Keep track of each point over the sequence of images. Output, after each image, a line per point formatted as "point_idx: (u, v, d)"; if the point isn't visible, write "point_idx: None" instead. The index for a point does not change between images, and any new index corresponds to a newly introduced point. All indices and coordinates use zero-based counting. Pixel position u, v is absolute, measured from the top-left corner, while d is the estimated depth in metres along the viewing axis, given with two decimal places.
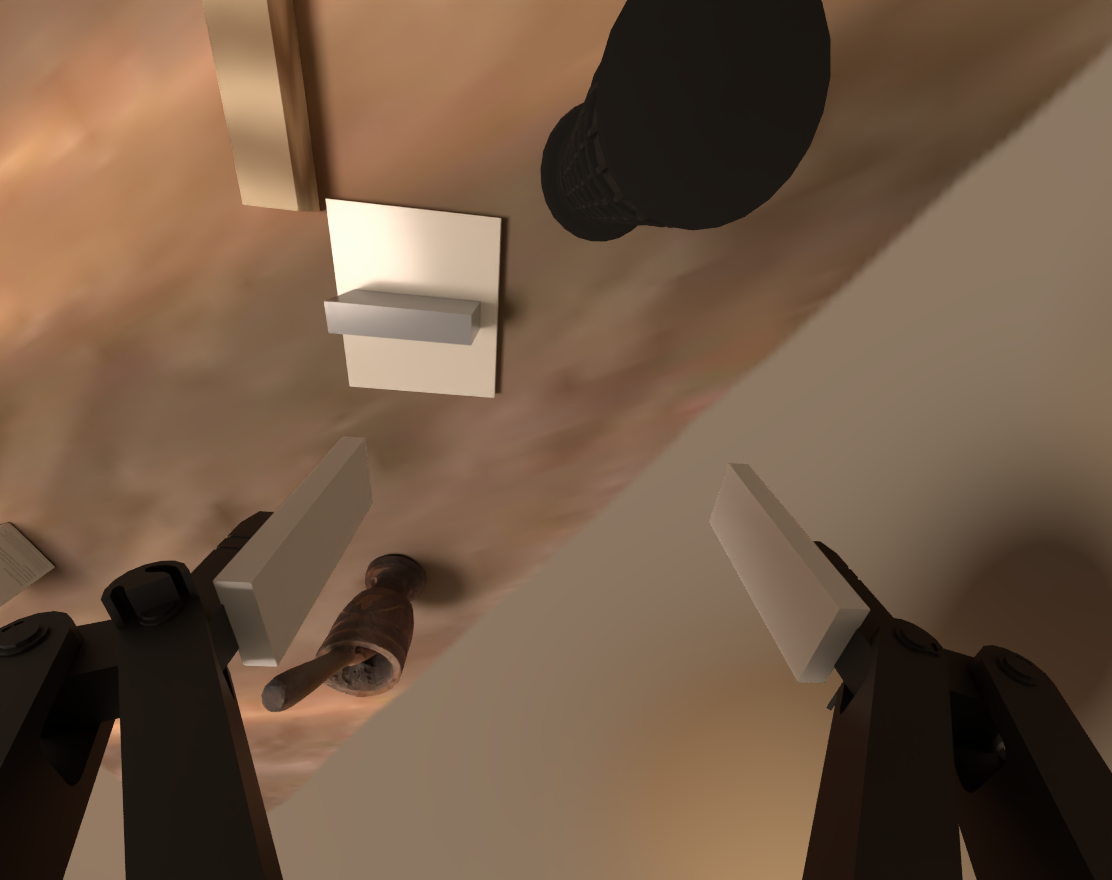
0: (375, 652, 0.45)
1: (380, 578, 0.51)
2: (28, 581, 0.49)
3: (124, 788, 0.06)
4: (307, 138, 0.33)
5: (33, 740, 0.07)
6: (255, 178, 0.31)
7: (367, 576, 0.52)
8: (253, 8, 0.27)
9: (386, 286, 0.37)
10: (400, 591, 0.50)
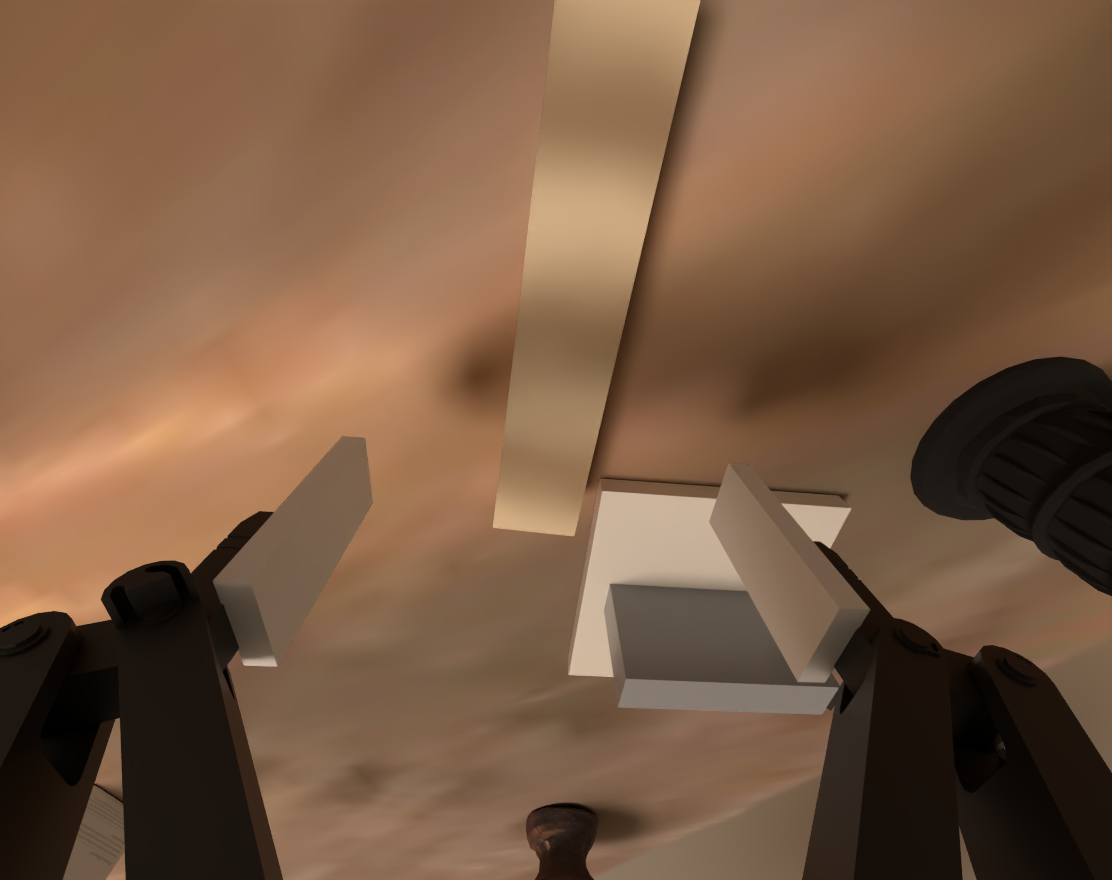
0: None
1: (554, 844, 0.40)
2: (117, 855, 0.39)
3: (124, 788, 0.06)
4: None
5: (32, 740, 0.07)
6: (524, 500, 0.20)
7: (533, 835, 0.42)
8: (606, 297, 0.16)
9: (655, 580, 0.26)
10: (583, 868, 0.40)
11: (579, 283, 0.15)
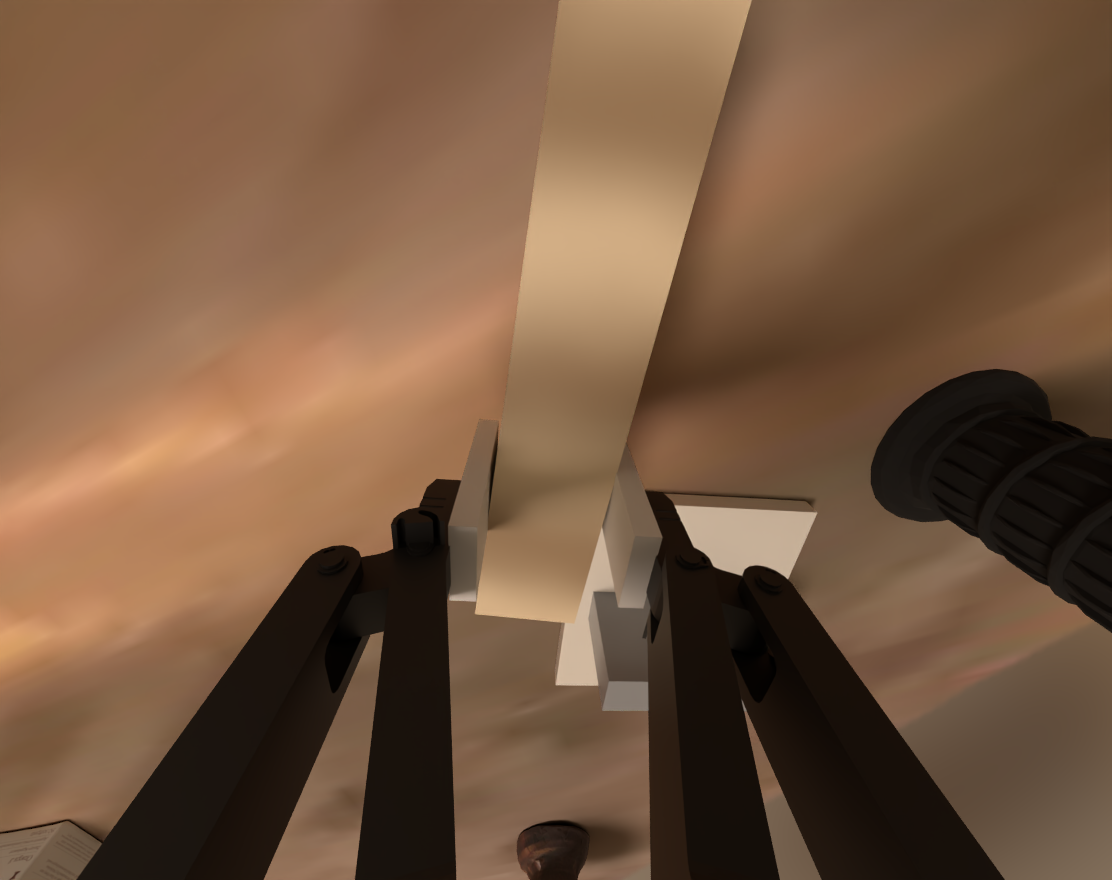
0: None
1: (546, 864, 0.40)
2: None
3: (380, 674, 0.08)
4: None
5: (322, 650, 0.08)
6: (514, 583, 0.16)
7: (524, 855, 0.41)
8: (622, 345, 0.12)
9: None
10: None
11: (588, 327, 0.12)
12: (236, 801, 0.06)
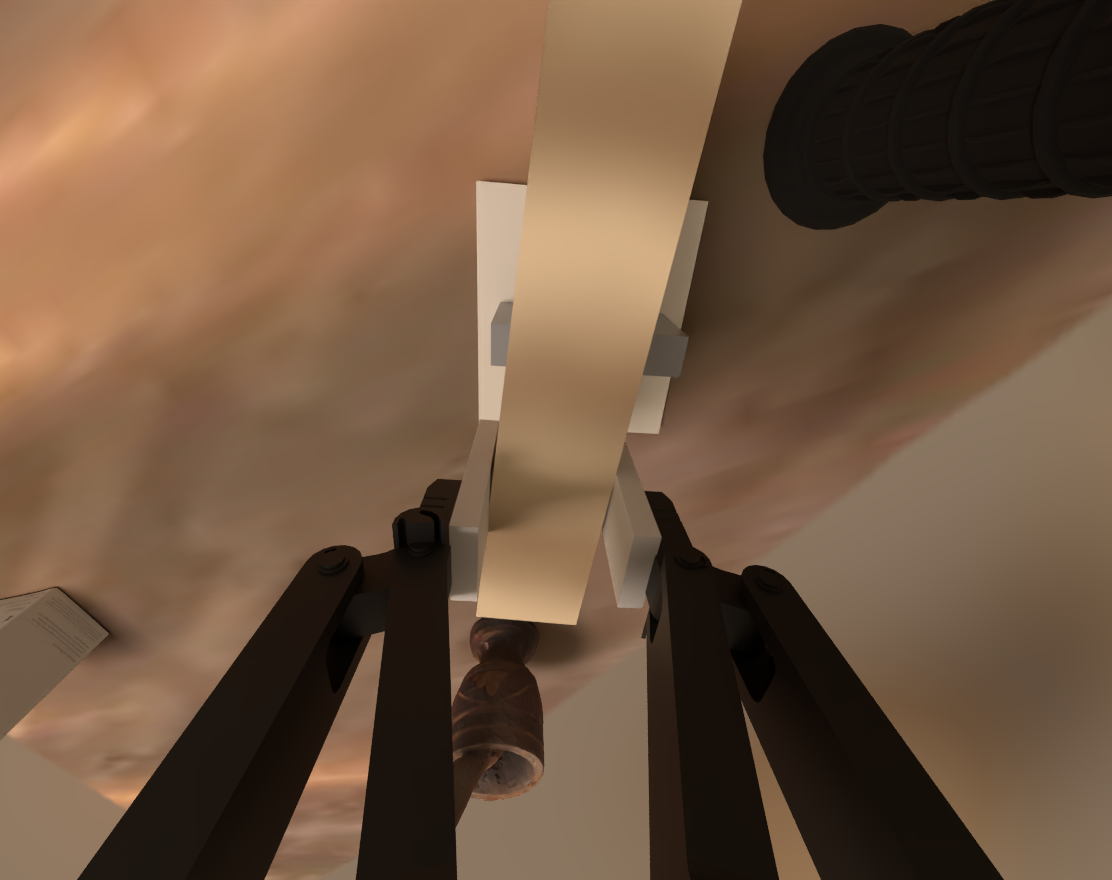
0: None
1: (493, 643, 0.43)
2: (81, 655, 0.42)
3: (380, 674, 0.08)
4: None
5: (323, 650, 0.08)
6: (514, 585, 0.16)
7: (474, 640, 0.44)
8: (619, 345, 0.12)
9: None
10: (519, 660, 0.42)
11: (585, 328, 0.12)
12: (237, 801, 0.06)
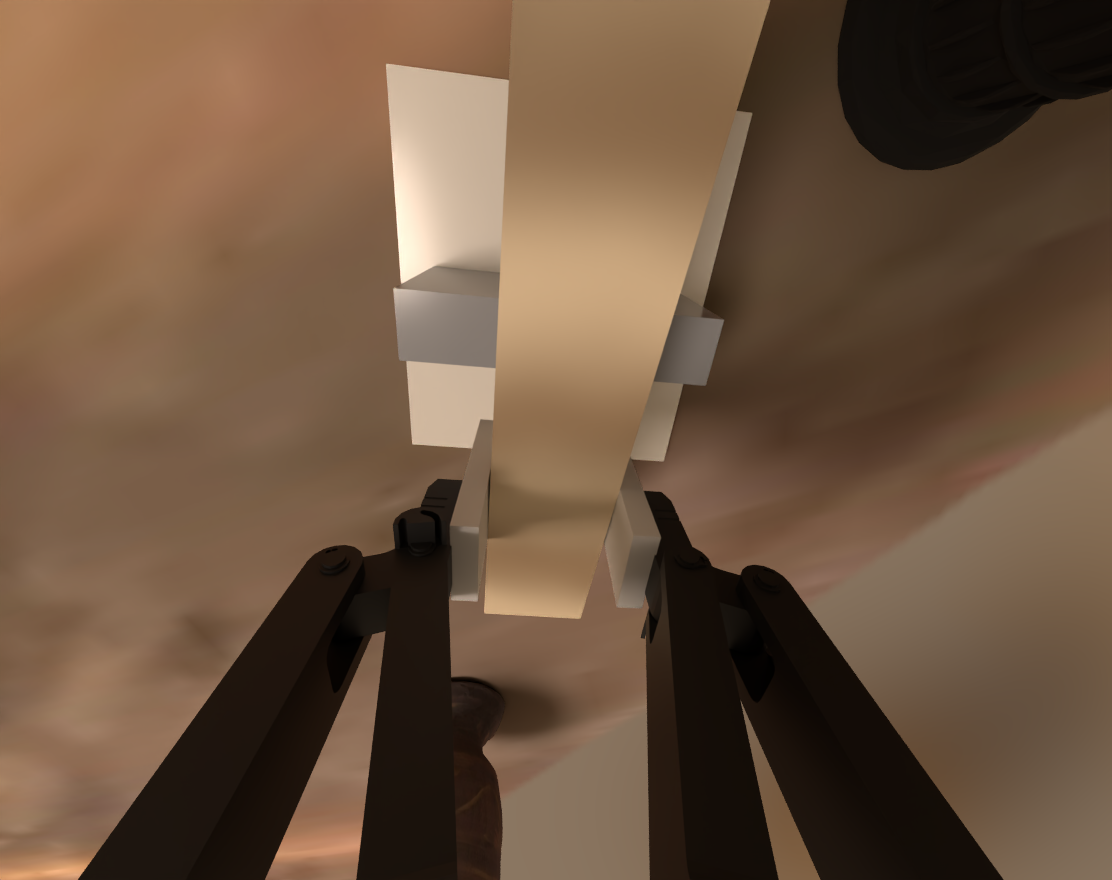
0: None
1: None
2: None
3: (381, 674, 0.08)
4: None
5: (324, 650, 0.08)
6: (519, 589, 0.17)
7: None
8: (618, 382, 0.11)
9: (497, 260, 0.19)
10: (475, 746, 0.32)
11: (578, 367, 0.11)
12: (238, 801, 0.06)
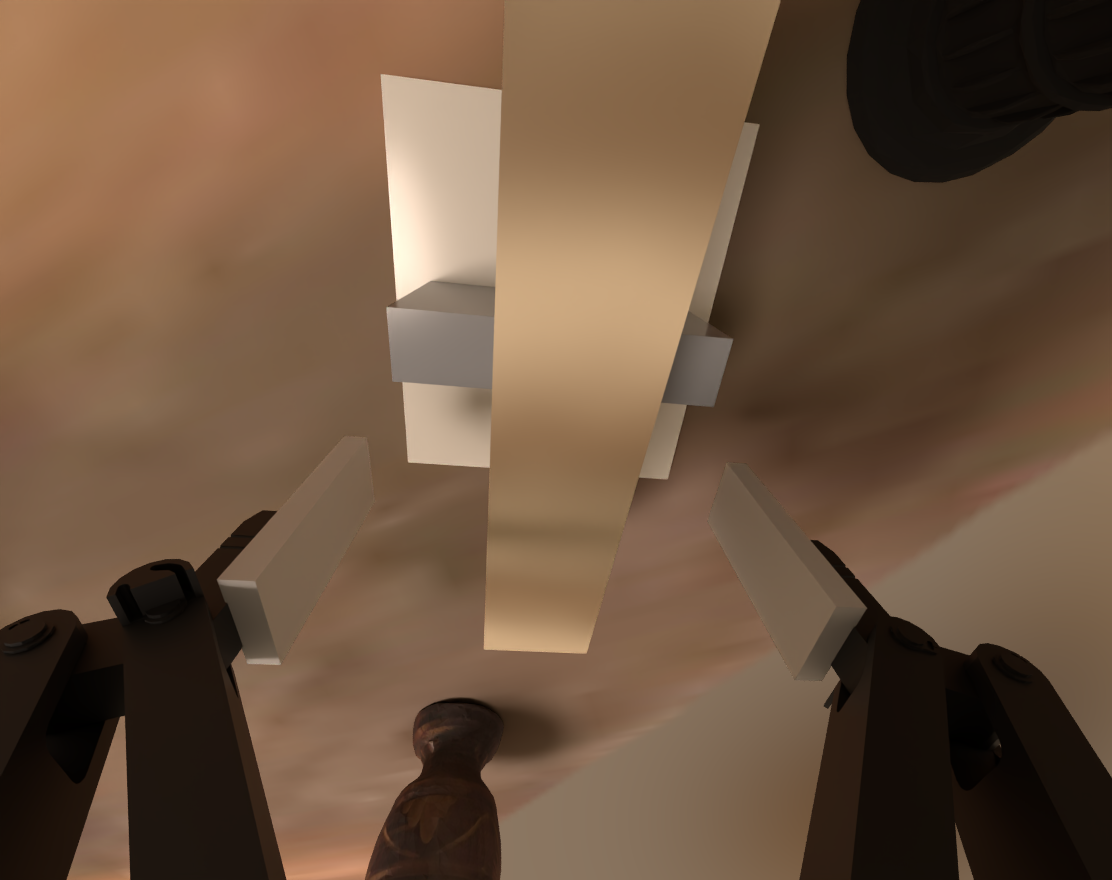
0: None
1: (440, 744, 0.32)
2: None
3: (128, 785, 0.06)
4: None
5: (38, 738, 0.07)
6: (520, 624, 0.15)
7: (417, 736, 0.33)
8: (623, 403, 0.10)
9: (495, 275, 0.18)
10: (473, 771, 0.31)
11: (581, 387, 0.10)
12: None
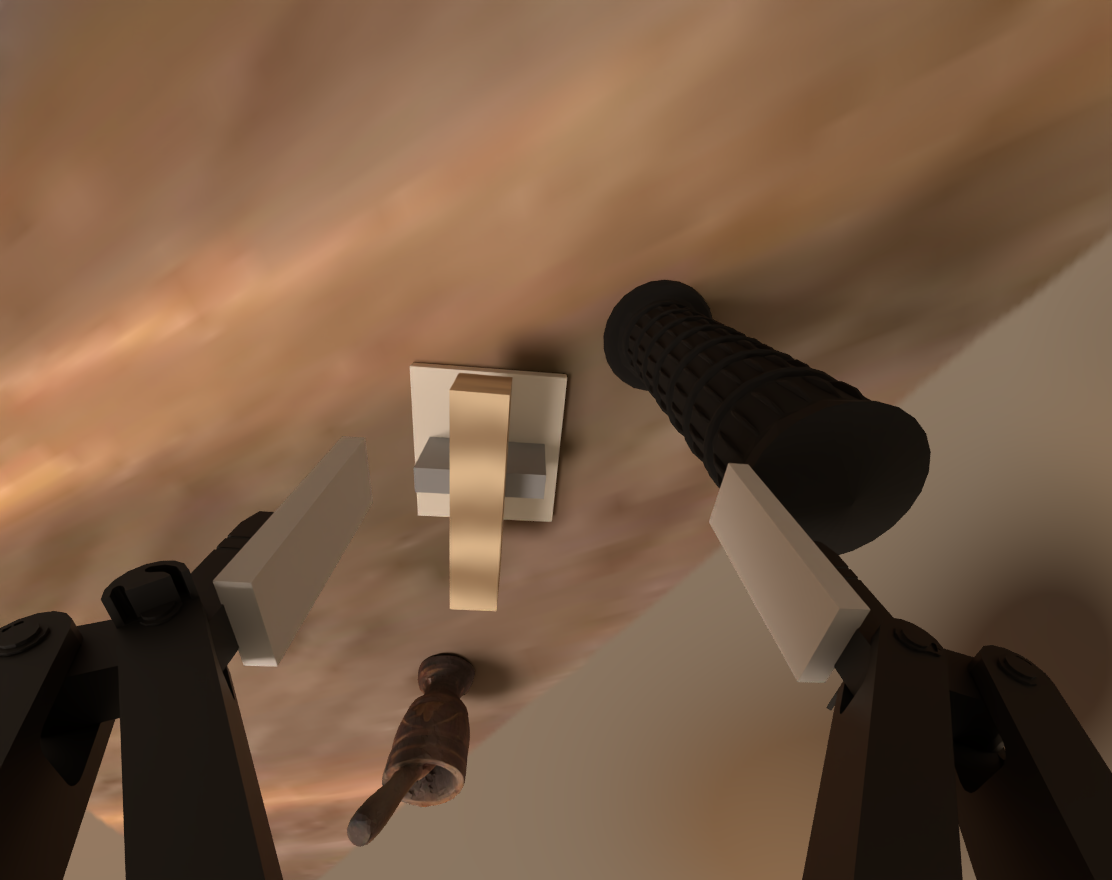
0: None
1: (434, 679, 0.54)
2: None
3: (124, 788, 0.06)
4: (501, 543, 0.38)
5: (33, 740, 0.07)
6: (465, 594, 0.36)
7: (421, 676, 0.55)
8: (491, 501, 0.32)
9: None
10: (454, 693, 0.53)
11: (477, 497, 0.32)
12: None
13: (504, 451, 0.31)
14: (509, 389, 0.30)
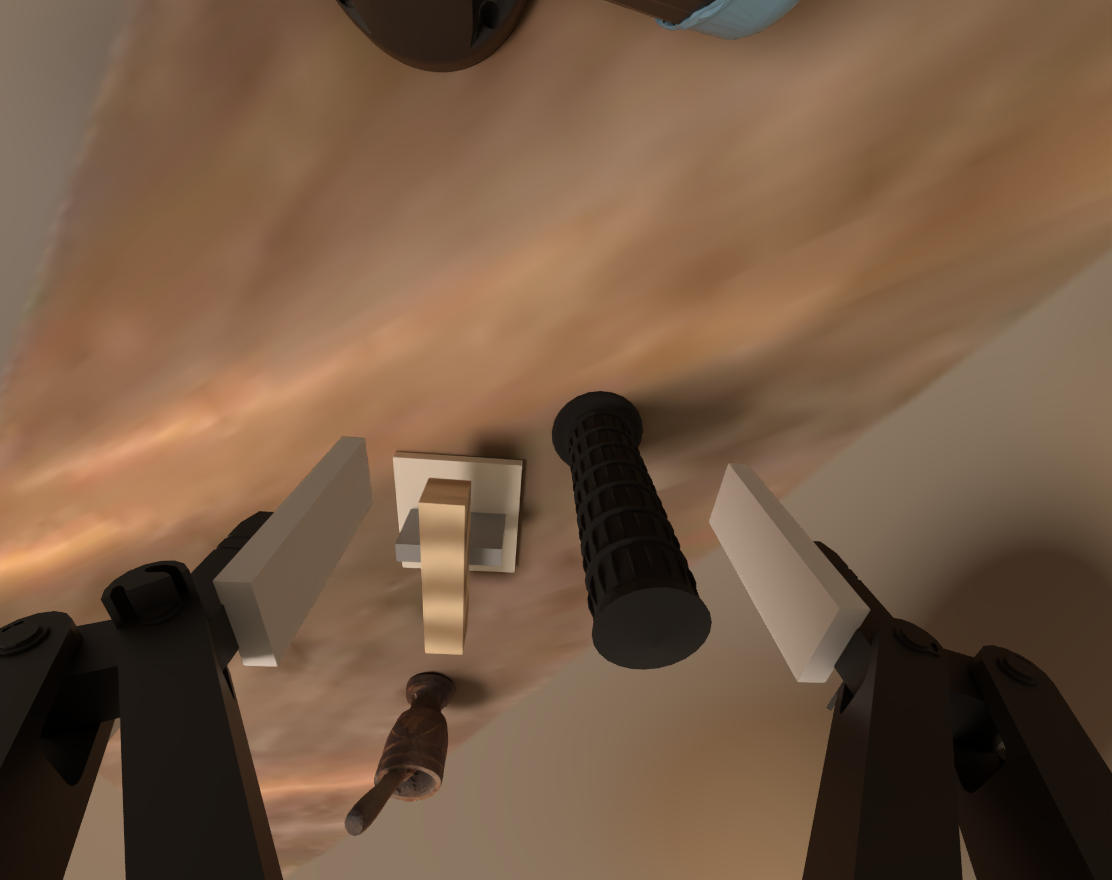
0: None
1: (419, 694, 0.63)
2: None
3: (124, 788, 0.06)
4: (467, 600, 0.47)
5: (33, 741, 0.07)
6: (437, 642, 0.45)
7: (408, 691, 0.64)
8: (454, 577, 0.41)
9: None
10: (436, 707, 0.62)
11: (443, 574, 0.41)
12: None
13: (462, 543, 0.39)
14: (466, 497, 0.38)
